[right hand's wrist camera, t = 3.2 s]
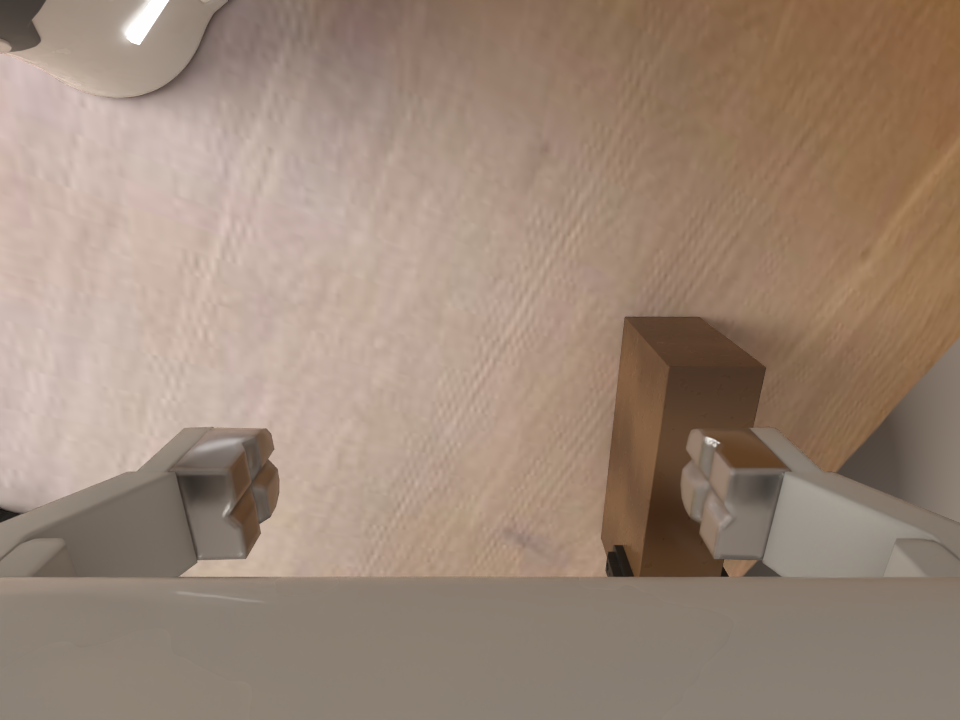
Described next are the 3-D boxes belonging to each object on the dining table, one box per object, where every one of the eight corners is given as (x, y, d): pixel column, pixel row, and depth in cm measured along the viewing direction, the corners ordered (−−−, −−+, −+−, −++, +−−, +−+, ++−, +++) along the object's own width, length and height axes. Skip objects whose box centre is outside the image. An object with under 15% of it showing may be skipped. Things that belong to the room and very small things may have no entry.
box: (624, 316, 40) (669, 366, 31) (699, 316, 40) (766, 367, 31) (600, 538, 48) (630, 632, 39) (663, 538, 48) (708, 633, 39)
